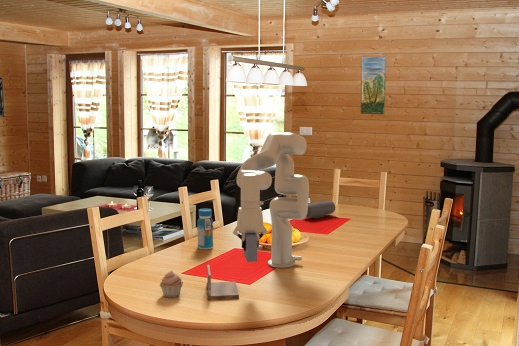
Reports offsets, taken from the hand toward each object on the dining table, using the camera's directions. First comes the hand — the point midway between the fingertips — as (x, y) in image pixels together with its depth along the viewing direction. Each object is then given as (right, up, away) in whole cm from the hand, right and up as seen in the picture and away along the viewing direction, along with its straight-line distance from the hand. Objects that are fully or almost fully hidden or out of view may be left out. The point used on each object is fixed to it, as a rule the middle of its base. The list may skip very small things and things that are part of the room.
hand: (250, 249), depth 232 cm
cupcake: (-31, -18, -3) cm, 36 cm away
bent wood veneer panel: (-11, -17, +1) cm, 21 cm away
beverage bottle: (-24, -8, +68) cm, 73 cm away
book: (0, -3, 0) cm, 3 cm away
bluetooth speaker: (+42, +2, +143) cm, 149 cm away
